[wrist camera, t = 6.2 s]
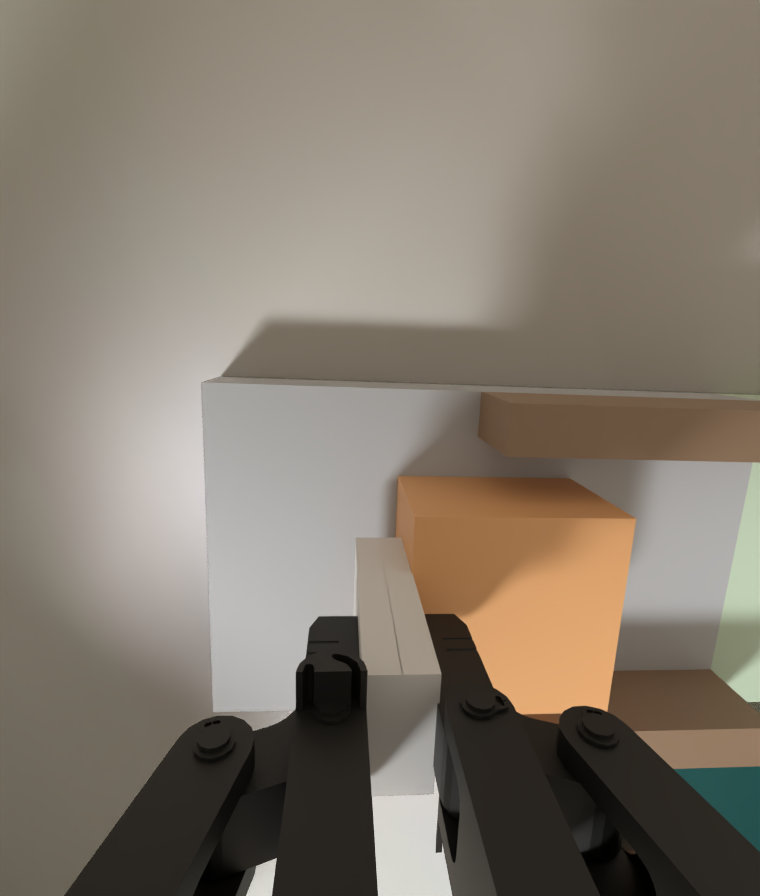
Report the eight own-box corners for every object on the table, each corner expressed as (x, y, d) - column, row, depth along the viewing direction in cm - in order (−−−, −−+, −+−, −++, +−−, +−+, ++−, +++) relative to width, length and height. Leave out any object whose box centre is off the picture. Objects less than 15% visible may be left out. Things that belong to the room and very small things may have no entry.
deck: (228, 668, 21) (187, 783, 15) (220, 376, 18) (169, 392, 13) (958, 659, 23) (1141, 755, 18) (1039, 404, 21) (1281, 427, 15)
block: (391, 635, 18) (404, 717, 14) (397, 475, 17) (414, 517, 13) (551, 633, 19) (607, 712, 15) (570, 478, 17) (636, 518, 13)
